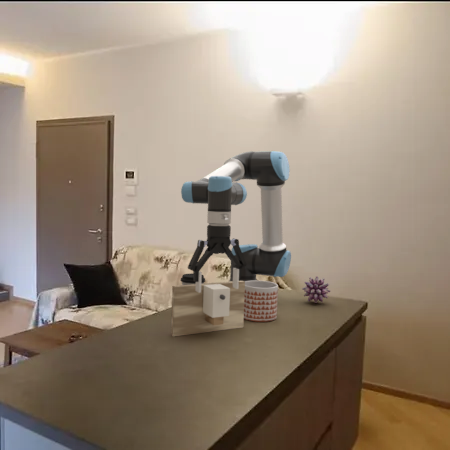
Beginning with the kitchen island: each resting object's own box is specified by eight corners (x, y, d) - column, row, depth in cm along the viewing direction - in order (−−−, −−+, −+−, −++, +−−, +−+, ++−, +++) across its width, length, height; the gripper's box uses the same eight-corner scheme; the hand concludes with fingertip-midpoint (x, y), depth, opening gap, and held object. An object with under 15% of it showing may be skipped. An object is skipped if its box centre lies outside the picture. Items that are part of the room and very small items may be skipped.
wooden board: (171, 334, 148) (172, 285, 146) (240, 325, 160) (242, 280, 159) (180, 342, 141) (182, 291, 139) (252, 332, 153) (254, 285, 152)
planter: (237, 320, 166) (239, 286, 166) (242, 311, 180) (244, 279, 179) (275, 323, 164) (276, 288, 163) (277, 314, 178) (279, 281, 177)
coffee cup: (201, 319, 167) (202, 278, 165) (176, 317, 168) (177, 276, 167) (206, 312, 176) (207, 274, 175) (182, 310, 177) (183, 272, 176)
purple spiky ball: (324, 300, 203) (326, 273, 202) (333, 307, 191) (334, 279, 190) (299, 299, 202) (300, 273, 201) (305, 306, 190) (307, 278, 189)
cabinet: (202, 312, 150) (203, 285, 149) (218, 310, 153) (219, 283, 152) (214, 318, 143) (215, 290, 142) (230, 316, 146) (231, 288, 145)
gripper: (187, 226, 137) (186, 296, 139) (258, 224, 149) (256, 288, 151) (178, 224, 143) (177, 290, 145) (246, 222, 155) (244, 284, 157)
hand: (217, 289), depth 148 cm, fingers open, 13 cm apart
